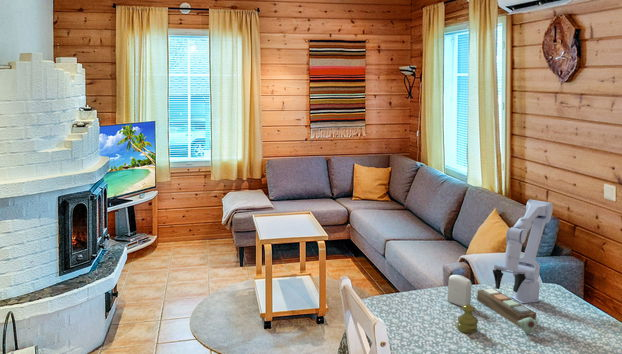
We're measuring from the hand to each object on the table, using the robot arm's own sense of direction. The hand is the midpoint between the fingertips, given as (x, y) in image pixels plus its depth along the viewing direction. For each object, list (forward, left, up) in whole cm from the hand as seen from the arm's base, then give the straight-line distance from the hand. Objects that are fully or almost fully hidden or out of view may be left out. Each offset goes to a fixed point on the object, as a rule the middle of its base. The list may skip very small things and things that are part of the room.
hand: (506, 290), depth 237 cm
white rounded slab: (+12, -14, -10) cm, 22 cm away
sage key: (-2, +1, -7) cm, 7 cm away
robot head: (+3, +19, -10) cm, 22 cm away
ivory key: (-2, -12, -7) cm, 14 cm away
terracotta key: (-2, -5, -7) cm, 9 cm away
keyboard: (-2, -2, -10) cm, 10 cm away
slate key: (-2, +8, -7) cm, 11 cm away
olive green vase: (+23, +9, -10) cm, 27 cm away
